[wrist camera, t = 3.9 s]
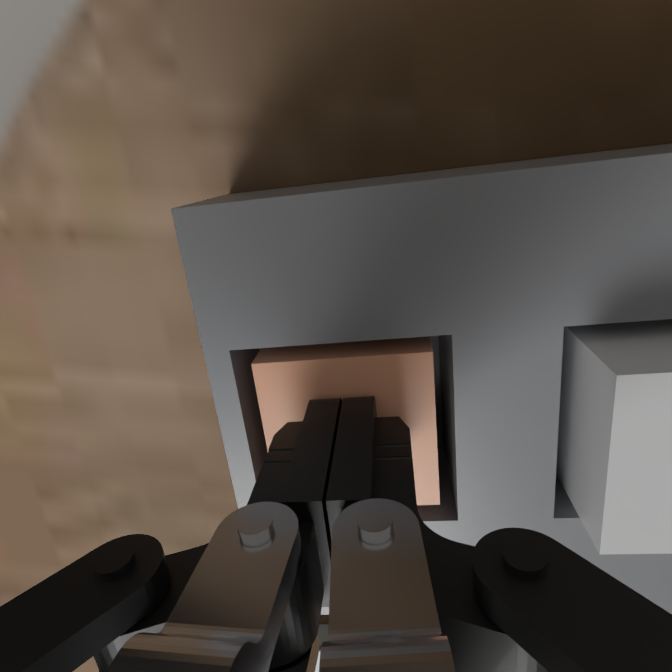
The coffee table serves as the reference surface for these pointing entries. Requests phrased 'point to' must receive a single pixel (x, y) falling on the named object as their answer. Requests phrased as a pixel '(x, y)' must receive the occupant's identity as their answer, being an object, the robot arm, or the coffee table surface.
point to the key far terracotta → (357, 390)
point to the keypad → (445, 312)
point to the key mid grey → (618, 433)
